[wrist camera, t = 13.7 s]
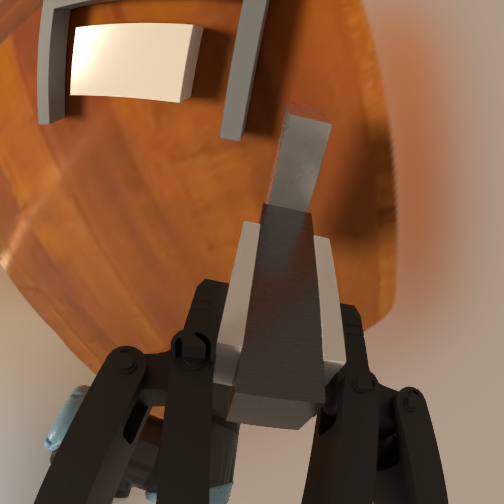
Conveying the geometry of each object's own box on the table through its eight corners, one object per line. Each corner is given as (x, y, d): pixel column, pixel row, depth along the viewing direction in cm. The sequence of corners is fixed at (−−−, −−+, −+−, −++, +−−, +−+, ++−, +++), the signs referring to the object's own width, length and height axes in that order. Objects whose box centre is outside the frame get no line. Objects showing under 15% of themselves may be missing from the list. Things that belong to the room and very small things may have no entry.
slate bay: (244, 132, 23) (240, 140, 21) (54, 116, 22) (38, 124, 20) (272, -14, 15) (271, -21, 13) (61, -3, 15) (44, -3, 13)
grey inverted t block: (281, 267, 23) (268, 456, 12) (248, 260, 23) (216, 449, 12) (326, 110, 15) (421, 282, 4) (283, 99, 15) (277, 252, 4)
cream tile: (191, 96, 22) (179, 102, 19) (89, 88, 21) (70, 95, 19) (204, 27, 18) (193, 24, 15) (96, 27, 17) (76, 27, 15)
